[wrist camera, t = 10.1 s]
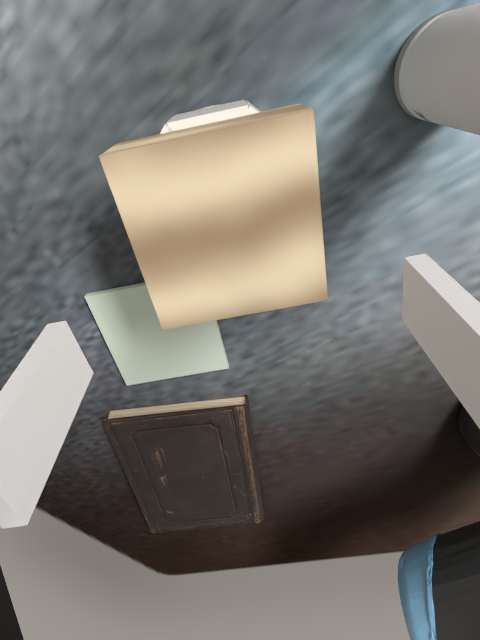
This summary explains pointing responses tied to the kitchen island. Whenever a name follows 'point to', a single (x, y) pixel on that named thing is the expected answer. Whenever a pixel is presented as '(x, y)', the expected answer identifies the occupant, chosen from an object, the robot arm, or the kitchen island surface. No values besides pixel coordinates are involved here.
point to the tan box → (224, 215)
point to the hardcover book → (190, 463)
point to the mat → (153, 338)
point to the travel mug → (442, 70)
